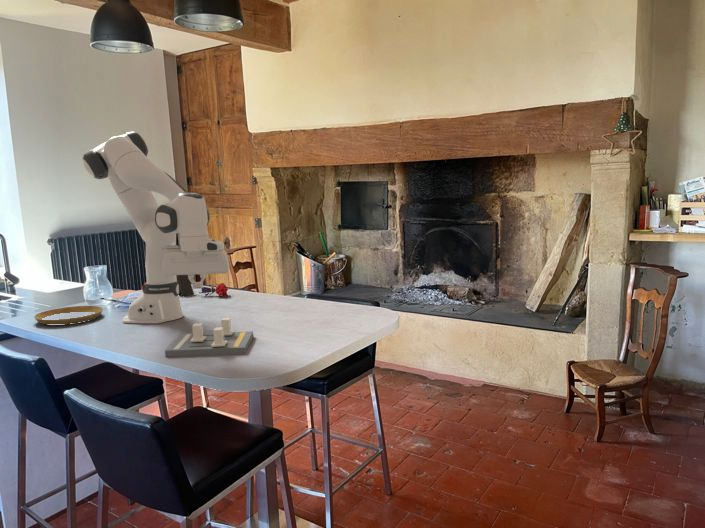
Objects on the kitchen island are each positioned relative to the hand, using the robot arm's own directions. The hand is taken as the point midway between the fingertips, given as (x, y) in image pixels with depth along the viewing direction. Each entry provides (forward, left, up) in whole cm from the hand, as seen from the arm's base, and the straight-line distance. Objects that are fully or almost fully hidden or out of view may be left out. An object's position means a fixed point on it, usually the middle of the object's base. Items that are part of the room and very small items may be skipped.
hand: (197, 288), depth 171 cm
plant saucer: (-62, +43, -20) cm, 78 cm away
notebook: (-52, +81, -20) cm, 98 cm away
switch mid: (-1, -1, -17) cm, 17 cm away
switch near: (+7, -7, -17) cm, 19 cm away
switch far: (+7, +5, -17) cm, 19 cm away
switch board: (+3, -1, -19) cm, 19 cm away
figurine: (-12, +78, -19) cm, 81 cm away
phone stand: (-29, +85, -19) cm, 92 cm away
